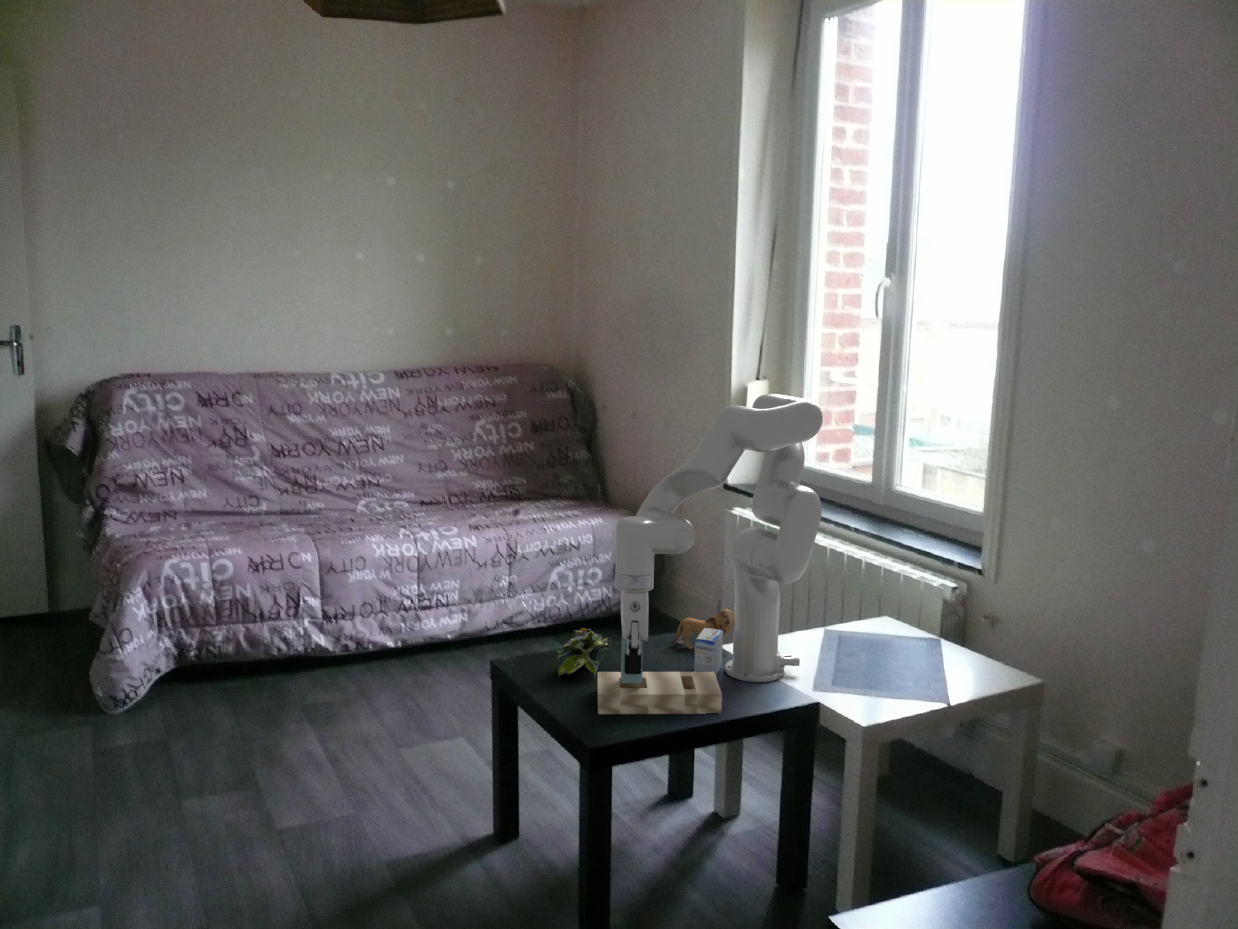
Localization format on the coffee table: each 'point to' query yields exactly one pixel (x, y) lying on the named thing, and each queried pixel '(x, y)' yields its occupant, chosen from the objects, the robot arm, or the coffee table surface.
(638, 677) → the square peg
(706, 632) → the medicine box
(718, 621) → the lion figurine
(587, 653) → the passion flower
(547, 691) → the coffee table surface
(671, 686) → the bore board
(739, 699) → the coffee table surface
